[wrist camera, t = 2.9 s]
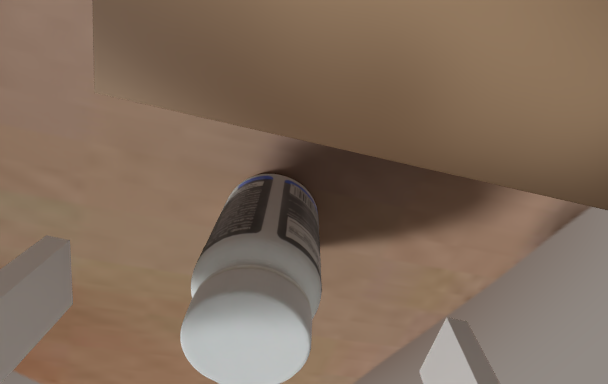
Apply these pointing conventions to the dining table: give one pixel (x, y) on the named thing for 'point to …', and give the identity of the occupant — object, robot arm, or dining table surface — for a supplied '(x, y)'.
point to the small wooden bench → (384, 79)
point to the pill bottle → (256, 285)
